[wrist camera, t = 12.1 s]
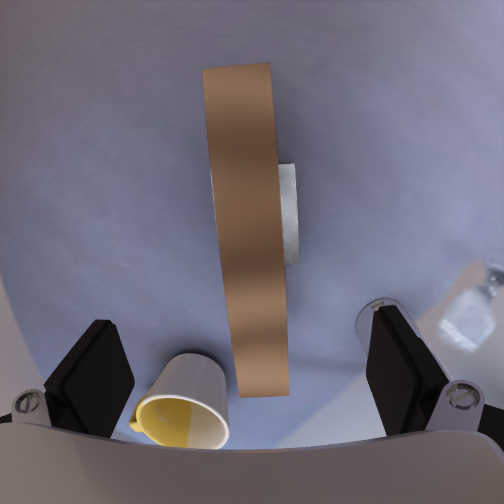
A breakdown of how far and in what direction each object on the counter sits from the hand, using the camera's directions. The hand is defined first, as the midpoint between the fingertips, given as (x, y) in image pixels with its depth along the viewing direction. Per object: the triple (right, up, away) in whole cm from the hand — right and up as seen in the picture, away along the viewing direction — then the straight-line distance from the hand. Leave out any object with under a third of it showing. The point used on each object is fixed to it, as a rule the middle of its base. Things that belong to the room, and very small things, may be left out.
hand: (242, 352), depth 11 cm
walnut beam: (+1, +5, +14) cm, 15 cm away
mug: (-8, -12, +29) cm, 33 cm away
